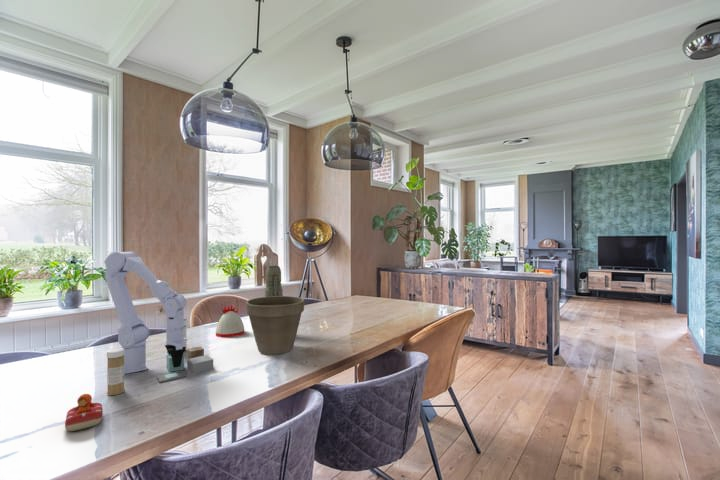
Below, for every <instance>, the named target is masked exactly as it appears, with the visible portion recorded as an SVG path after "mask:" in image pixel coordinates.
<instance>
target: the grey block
mask: <svg viewBox="0 0 720 480" xmlns="http://www.w3.org/2000/svg"><path fill="white" fill-rule="evenodd" d="M186 369H187V371H188V372H190V373H191V374H192V375H197V374H201V373H205V372H209V371H212V370H214V359H213V358H212V357H211V356H209V355H207V354H206V355H205V354H204V356H200V357H195V358H191V359H187V358H186Z"/></svg>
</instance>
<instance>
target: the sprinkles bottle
mask: <svg viewBox="0 0 720 480" xmlns="http://www.w3.org/2000/svg"><path fill="white" fill-rule="evenodd" d="M124 354H125V351H124V349H123V348H121V347H116V348H111V349H108V350H107V351H106V358H107V376H106V377H107V379H106V380H107V381H106V382H107V383H106V384H107V392H106V394H107V395H108V396H116V395H117V396H118V395H121V394H122V393H124V392H125V374H124Z"/></svg>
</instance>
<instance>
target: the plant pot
mask: <svg viewBox="0 0 720 480" xmlns="http://www.w3.org/2000/svg"><path fill="white" fill-rule="evenodd" d="M245 308H246V309H245V310H246V313H245V314H247V315H248V317H249V321H250V322H249V323H250V325H251V329H252V332H253V337H254V340H255V343H256V347H257V350H258V352H259V353H261V354H263V355H271V356H275V355H281V354H286V353H288V352H291V351H292V350H293V348H294V346H295V342H296V337H297V334H298V330H299V325H300V321H301V318H302V313H303V312H304V311H305V299H304V298H303V297H297V296H288V295H287V296H286V295H283V296H271V297H265V296H263V297H256V298H251V299H248V300H247V301H246V302H245Z"/></svg>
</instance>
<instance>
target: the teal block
mask: <svg viewBox="0 0 720 480" xmlns="http://www.w3.org/2000/svg"><path fill="white" fill-rule="evenodd" d="M166 369H167V371H168V373H173V372H178V371H183V370H185V354H183V357H182V361H181V365H180V367H175V368H174V366H173V363H172V357H171V354H166Z"/></svg>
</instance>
